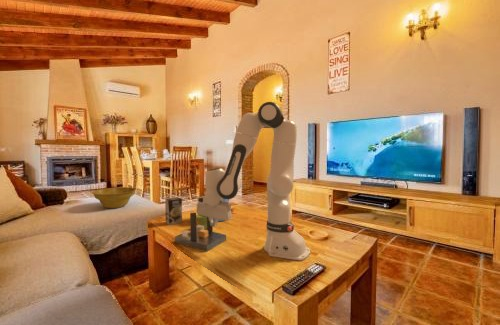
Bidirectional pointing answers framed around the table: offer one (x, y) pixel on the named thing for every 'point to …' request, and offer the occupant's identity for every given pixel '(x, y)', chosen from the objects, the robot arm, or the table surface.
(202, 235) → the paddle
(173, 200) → the coffee box
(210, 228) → the cord post right
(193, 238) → the cord post left
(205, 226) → the plant pot
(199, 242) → the dark grey base plate
